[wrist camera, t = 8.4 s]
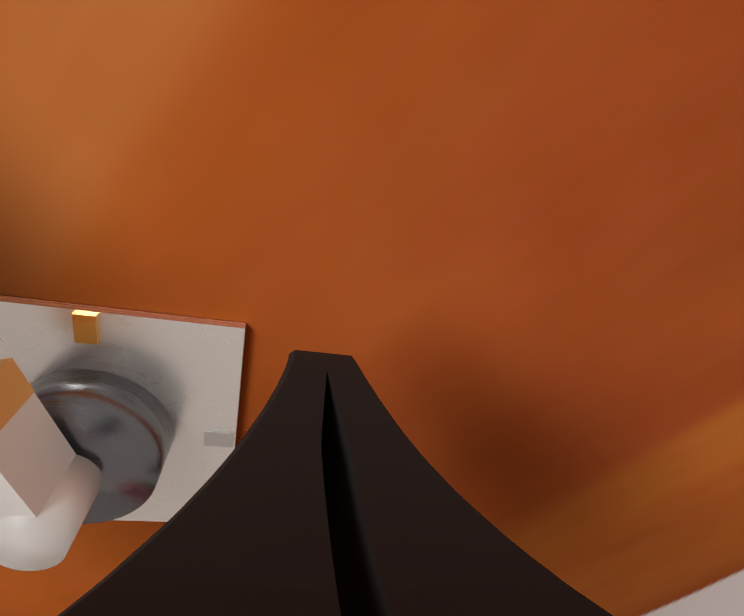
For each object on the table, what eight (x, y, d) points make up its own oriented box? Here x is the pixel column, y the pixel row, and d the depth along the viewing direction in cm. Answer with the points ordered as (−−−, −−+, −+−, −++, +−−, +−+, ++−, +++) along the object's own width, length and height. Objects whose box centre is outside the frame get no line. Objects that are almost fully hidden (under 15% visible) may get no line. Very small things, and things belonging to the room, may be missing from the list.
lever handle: (114, 491, 20) (80, 561, 17) (51, 504, 20) (6, 577, 17) (25, 354, 16) (-37, 413, 13) (-53, 370, 16) (-131, 433, 13)
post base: (-26, 507, 23) (-69, 562, 21) (-88, 285, 18) (-156, 321, 15) (229, 515, 26) (220, 565, 23) (246, 323, 20) (236, 359, 18)
